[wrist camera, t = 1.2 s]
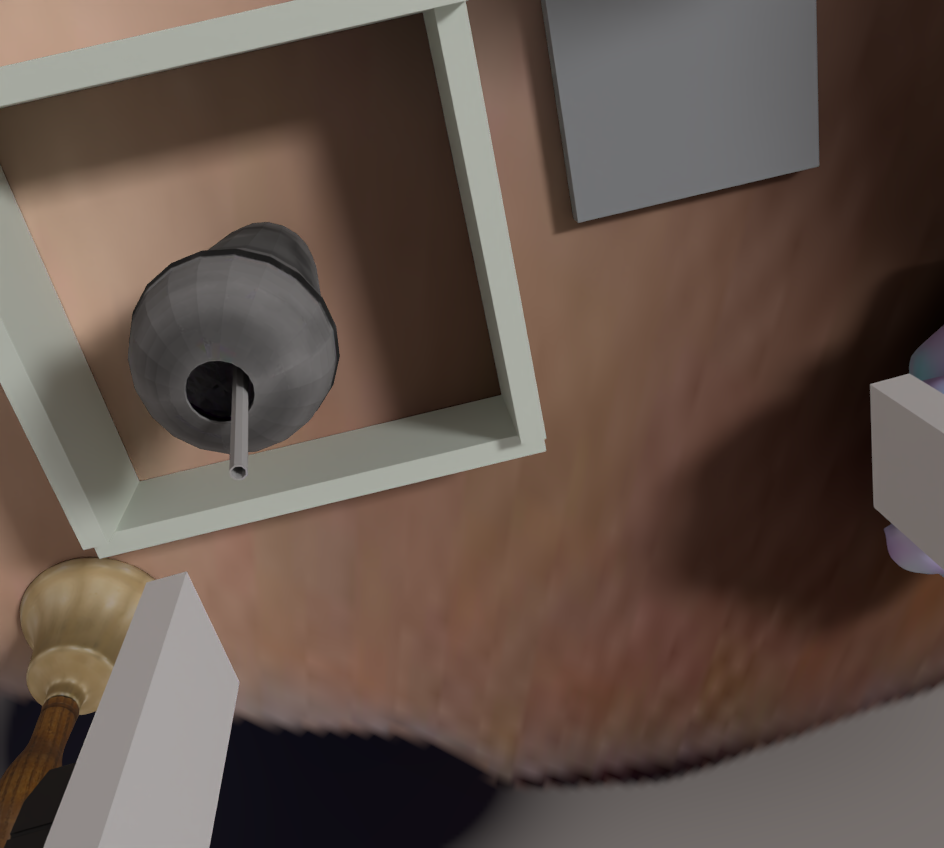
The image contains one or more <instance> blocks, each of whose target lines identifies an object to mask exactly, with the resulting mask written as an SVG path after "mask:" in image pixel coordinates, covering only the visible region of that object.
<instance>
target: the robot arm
mask: <svg viewBox="0 0 944 848" xmlns="http://www.w3.org/2000/svg"><path fill="white" fill-rule="evenodd" d="M870 404H871V438H872V471H873V505H874V508H875V509H876V510H877V511H879V512H880V513H881V514H882V515H883V516H884V517H885V518H886V519H887V520H889V521H890V522H891V523H892V524H893V525H894V526H895V527H896V528H897V529H899V530H900V531H901V532H902V533H903V534H904V535H905V536H906V537H907V538H909V539H910V540H911V541H912V542H913V543H914V544H915V545H916V546H917V547H919V548H920V549H921V550H922V551H923V552H924V553H925V554H926V555H927V556H929V557H930V558H931V559H932V560H933V561H934V562H935V563H936V564H938V565H939V566H940V567H941V568H942V569H943V570H944V394H943V393H941V392H939V391H938V390H936V389H934V388H933V387H931V386H929V385H928V384H926V383H924V382H923V381H921V380H919V379H918V378H916V377H914V376H913V375H911V374H905V375H902V376H898V377H895V378H891V379H887V380H884V381H880V382H876V383H873V384H870ZM238 687H239V680H238V678H237V676H236V674H235V672H234V670H233V667H232V665H231V663H230V661H229V659H228V657H227V655H226V653H225V651H224V649H223V646H222V644H221V642H220V640H219V638H218V636H217V634H216V632H215V630H214V628H213V625H212V623H211V621H210V619H209V617H208V615H207V613H206V611H205V609H204V607H203V605H202V602H201V600H200V598H199V596H198V594H197V592H196V590H195V588H194V586H193V584H192V581H191V579H190V577H189V575H188V573H187V572H183V573H179V574H176V575H172V576H168V577H165V578H161V579H157V580H154V581H150V582H146V585H145V587H144V590H143V593H142V595H141V598H140V600H139V603H138V605H137V608H136V611H135V613H134V616H133V618H132V621H131V623H130V626H129V629H128V631H127V634H126V636H125V639H124V641H123V644H122V647H121V649H120V652H119V654H118V657H117V659H116V662H115V665H114V667H113V670H112V672H111V675H110V677H109V680H108V683H107V685H106V688H105V690H104V693H103V695H102V698H101V701H100V703H99V706H98V708H97V711H96V714H95V716H94V719H93V721H92V724H91V726H90V729H89V732H88V734H87V737H86V739H85V742H84V744H83V747H82V749H81V752H80V755H79V757H78V760H77V762H76V763H73V764H69V765H66V766H62V767H58V768H54V769H51V770H49V771H48V772H47V773H46V775H45V776H44V777H43V778H42V780H41V781H40V782H39V783H38V785H37V786H36V787H35V788H34V790H33V791H32V792H31V793H30V795H29V796H28V797H27V798H26V800H25V801H24V802H23V805H22V807H21V809H20V812H19V814H18V816H17V818H16V821H15V823H14V825H13V828H12V830H11V832H10V835H11V838H10V839H9V840H7V841H6V844H5V846H4V848H209V846H210V840H211V835H212V829H213V824H214V818H215V813H216V807H217V802H218V797H219V791H220V786H221V780H222V775H223V769H224V764H225V758H226V753H227V748H228V742H229V737H230V731H231V726H232V720H233V715H234V709H235V704H236V698H237V693H238Z"/></svg>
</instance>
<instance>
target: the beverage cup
mask: <svg viewBox="0 0 944 848" xmlns="http://www.w3.org/2000/svg"><path fill="white" fill-rule="evenodd" d="M339 357H340V355H339V346H338V338H337V329H336V325H335V323H334V321H333V319H332V317H331V314H330V312H329V310H328V308H327V306H326V304H325V302H324V300H323V298H322V297H321V294H320V288H319V281H318V275H317V269H316V265H315V263H314V259H313V257H312V255H311V252H310V250H309V248H308V246H307V245H306V243H305V242H304V241H303V240H302V239H301V238H300V237H299V236H298V235H297V234H296V233H294V232H293V231H291V230H289V229H288V228H286V227H284V226H282V225H278V224H274V223H269V222H263V223H252V224H250V225H247V226H245V227H242V228H240V229H238V230H236V231H234V232H232V233H230V234H229V235H228V236H226V237H225V238H224V239H222V240H221V241H220V242H218V243H217V244H216V245H214V246H213V247H212V248H210V249H209V250H206V251H200V252H198V253H195V254H193V255H190V256H188V257H185V258H183V259H181V260H178V261H176V262H173V263H171V264H170V265H169V266H168V267H166V268H165V269H164V270H163V271H162V272H161V273H160V274H159V275H157V276H156V277H155V278H154V279H153V280H152V281H151V282H150V283H149V284H147V286H146V288H145V290H144V292H143V294H142V296H141V297H140V299H139V301H138V303H137V305H136V307H135V309H134V311H133V314H132V323H131V331H130V339H129V351H128V361H129V366H130V370H131V374H132V378H133V383H134V387H135V390H136V392H137V394H138V395H139V397H140V398H141V400H142V402H143V403H144V405H145V407H146V408H147V410H148V411H149V413H150V415H151V416H152V417H153V418H154V419H155V420H156V421H157V422H158V423H159V424H161V425H162V426H163V427H164V428H165V429H166V430H167V431H168V432H170V433H171V434H172V435H173V436H174V437H177V438H179V439H181V440H183V441H185V442H187V443H189V444H191V445H193V446H195V447H197V448H199V449H204V450H210V451H215V452H221V453H226V454H230V463H229V473H230V477H231V478H233V479H234V480H243V479H244V478H245V477H246V476H247V475H248V452H255V451H259V450H262V449H264V448H267V447H269V446H272V445H274V444H277V443H279V442H282V441H284V440H286V439H288V438H289V437H290V436H291V435H293V434H294V433H295V432H296V431H297V430H299V429H300V428H301V427H302V426H304V425H305V424H306V423H307V422H308V421H309V420H310V419H311V418H312V416H313V415H314V413H315V412H316V411H317V410H318V408H319V407H320V405H321V403H322V402H323V400H324V399H325V397H326V396H327V394H328V392H329V391H330V389H331V388H332V386H333V384H334V379H335V375H336V370H337V366H338V361H339Z"/></svg>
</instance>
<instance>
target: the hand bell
mask: <svg viewBox="0 0 944 848" xmlns="http://www.w3.org/2000/svg"><path fill="white" fill-rule="evenodd" d="M154 580H155V579H154V578H152V577H151V576H150V575H148V574H147V573H145V572H144V571H142V570H140V569H139V568H137V567H135V566H132V565H130V564H127V563H124V562H121V561H118V560H113V559H107V558H101V559H99V558H79V559H72V560H69V561H64V562H62V563H59V564H57V565H55V566H53V567H50V568H49V569H47V570H45V571H44V572H42V573H41V574H40V575H39V576H38V577H36V578H35V580H34V581H33V582H32V583H31V584H30V585H29V587H28V588H27V590H26V591H25V594H24V596H23V598H22V602H21V606H20V622H21V627H22V631H23V634H24V637H25V639H26V641H27V643H28V644H29V646H30V647H31V649H32V650H33V653H32V657H31V661H30V664H29V666H28V669H27V675H26V680H27V686H28V689H29V691H30V693H31V695H32V696H33V698H34V699H35V700H36V701H37V702H38V703H39V704H41V705H42V710H41V714H40V716H39V718H38V721H37V724H36V727H35V729H34V732H33V735H32V738H31V740H30V742H29V744H28V745H27V747H26V748H25V750H24V751H23V752H22V753H21V754H20V755H19V756H18V757H17V758H16V759H15V760H14V762H13V763H12V764H11V765H10V766H9V767H8V769H7V770H6V771H5V773H4V774H3V776H2V778H1V779H0V848H4V846H5V844H6V841H7V840H9V839H10V838H11V835H10V832H11V830H12V828H13V825H14V823H15V821H16V818H17V816H18V814H19V812H20V809H21V807H22V805H23V802H24V801H25V800H26V798H27V797H28V796H29V795H30V793H31V792H32V791H33V790H34V788H35V787H36V786H37V785H38V783H39V782H40V781H41V780H42V778H43V777H44V776H45V775H46V773H47V772H48V771H49V770H51V769H54V768H58V767H62V753H63V750H64V747H65V744H66V742H67V740H68V738H69V736H70V733H71V731H72V728H73V726H74V724H75V722H76V720H77V718H78V715H83V714H88V713H91V712H94V711H97V708H98V706H99V703H100V701H101V698H102V695H103V693H104V690H105V688H106V685H107V683H108V680H109V677H110V675H111V672H112V670H113V667H114V665H115V662H116V659H117V657H118V654H119V652H120V649H121V647H122V644H123V641H124V639H125V636H126V634H127V631H128V629H129V626H130V623H131V621H132V618H133V616H134V613H135V611H136V608H137V605H138V603H139V600H140V598H141V595H142V593H143V590H144V587H145V585H146V582H150V581H154Z"/></svg>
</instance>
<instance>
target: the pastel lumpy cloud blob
mask: <svg viewBox="0 0 944 848" xmlns="http://www.w3.org/2000/svg"><path fill="white" fill-rule="evenodd" d="M909 374H911V375H913V376H914V377H916V378H918V379H919V380H921V381H923V382H924V383H926V384H928V385H929V386H931V387H933V388H934V389H936V390H938V391H939V392H941V393H943V394H944V325H943V326H942V327H941V328H940V329H938V330H937V331H936V332H935V333H934V334H933V335H932V336H930V337H929V338H928V339H927V340H926V341H925V342H924V343H923V344H922V345H920V346H919V347H918V348H917V349H916V351H915V352H914V353H913V355H912V356H911V359H910V363H909ZM884 532H885V535H886V540H887V548H888V552H889V554H890V557H891V558H892V559H893V560H894V561H895V562H896V563H897V564H898V565H899V566H900V567H902V568H903V569H905V570H908V571H911V572H916V573H924V574H938V573H939V574H940V575H941V576H942V577H944V570H943V569H942V568H941V567H940V566H939V565H938V564H936V563H935V562H934V561H933V560H932V559H931V558H930V557H929V556H927V555H926V554H925V553H924V552H923V551H922V550H921V549H920V548H919V547H917V546H916V545H915V544H914V543H913V542H912V541H911V540H910V539H909V538H907V537H906V536H905V535H904V534H903V533H902V532H901V531H900V530H899V529H897V528H896V527H895V526H894V525H893V524H890V525H889V526H887V527H886V528H884Z"/></svg>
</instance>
